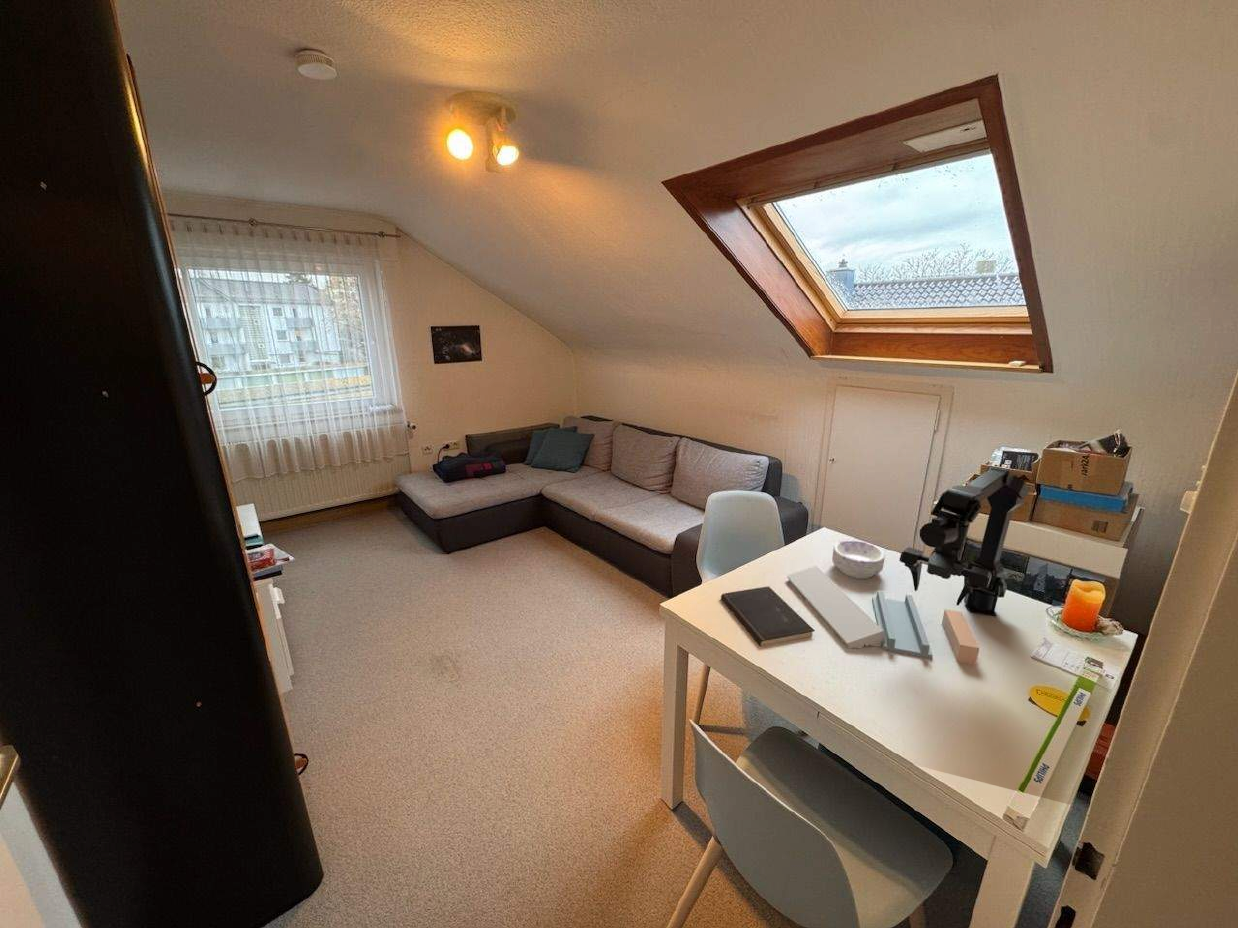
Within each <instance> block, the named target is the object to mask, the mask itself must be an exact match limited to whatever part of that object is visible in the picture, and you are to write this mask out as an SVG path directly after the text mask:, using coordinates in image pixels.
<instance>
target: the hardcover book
mask: <svg viewBox="0 0 1238 928" xmlns="http://www.w3.org/2000/svg"><path fill="white" fill-rule="evenodd" d="M720 599H721V601H722V602H723V603H724V604H725V606H726V607H727V608H728V609H729V610H730V612H731V613H732V614H733V615H734V616H735V618H736V619H737V621H739V623H740V624H741V625H742V626H743V627H744V628H745V630H746V631H747V633H749V635H750V636H751V637H752V639H754V640H755V642H756V643H757V644H758V645H759V647H761V646H765V645H771V644H775V643H781V642H786V641H790V640H795V639H796V640H797V639H801V638H806V637H812V636H813V632H815V629H814V628H813V627H812V626H811V625H809V624H808V622H806V620H804V618H803V617H802V616H800V615H799V614H798V613H797V612H796V611H795V610H794V609H793V608H792V607H791V606H790V605H789V604H788V603H787V602H786V601H785V600H784V599H782V597H780V595H778V594H777V593H776V592H775V591H774V590H773V589H772V588H771V587H770V586H769V585H768V586H763V587H755V588H750V589H744V590H743V589H742V590H737V591H730V592H725V593H722V594H721V595H720Z"/></svg>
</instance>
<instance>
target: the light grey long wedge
mask: <svg viewBox="0 0 1238 928" xmlns="http://www.w3.org/2000/svg"><path fill="white" fill-rule="evenodd" d="M786 577H787V579H788V580H789V582H790V584H791V585H792V586H793V587H794V588H795V589H796V590H797V591H798V593H800V594H801V595H802V597H803V598H804V599H805V600H806V601H807V602H808V604H809V605H810V606H811V607H812V608H813V609H814V610H815V612H816V613H817V614H818V615H819V616H820V617H821V618H822V619H823V620H824V622H826V624H827V625H828V626H829V627H830V629H831V630H832V631H833V632H834V633H835V634H836V635H837V637H839V638H840V640H841V641H843V643H844V644H845V645H846V647H848V648H849V649H857V648H858V649H859V648H864V647H868V646H874V647H878V646H879V647H880V646H882V642H885V636H884V630H883V629H882V628H880V627H879V626H878V625H877V622H875V621H874V620H873V619H872V618H871V617H870V616H869V615H868V614H867V613H866V612H865V611H864V610H863V609H862V608H861V607H860V606H859V605H858V604H857V603H856V602H855V601H853V600H852V598H850V597H849V596H848V595H847V594H846V593H845V592H844V591H843V590H842V589H841V588H840V587H839V586H838V585H837V584H835V582H834V581H833V580H832V579H831V578H829V577H828V575H827V574H825V573H824V572H823V571H822V570H821V569H820V568H819V567H818V566H817V565H814V566H812V567H809V568H804V569H802V570H800V571H797V572H793V573H790V574H788V575H786Z"/></svg>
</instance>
